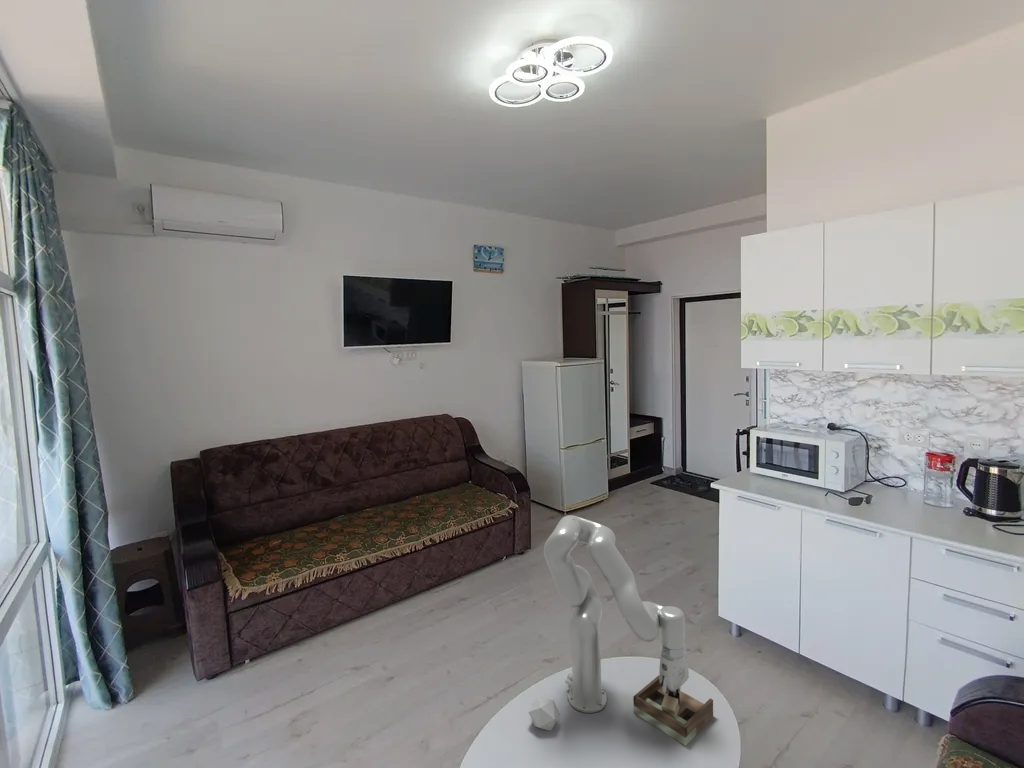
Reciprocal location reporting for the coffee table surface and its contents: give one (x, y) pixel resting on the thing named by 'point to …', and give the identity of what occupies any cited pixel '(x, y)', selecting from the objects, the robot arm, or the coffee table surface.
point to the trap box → (682, 728)
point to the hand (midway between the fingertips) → (673, 703)
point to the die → (544, 713)
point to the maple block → (670, 706)
